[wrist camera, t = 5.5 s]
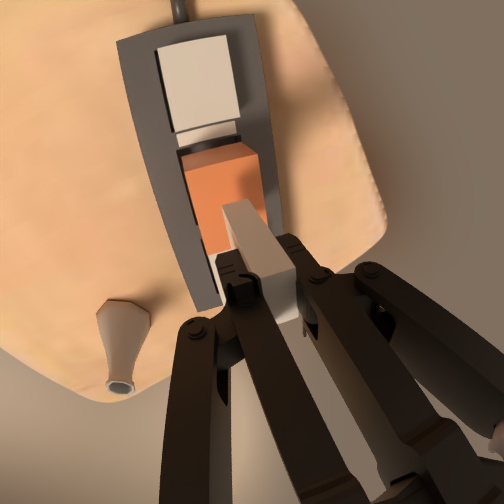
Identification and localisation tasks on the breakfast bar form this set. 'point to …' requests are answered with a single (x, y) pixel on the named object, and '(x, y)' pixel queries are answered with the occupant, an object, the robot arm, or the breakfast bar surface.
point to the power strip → (197, 133)
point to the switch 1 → (199, 82)
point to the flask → (122, 342)
